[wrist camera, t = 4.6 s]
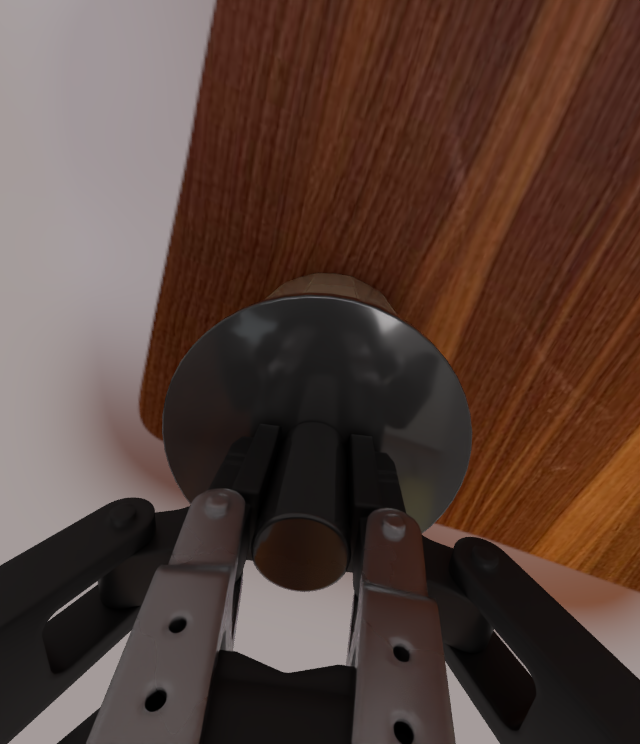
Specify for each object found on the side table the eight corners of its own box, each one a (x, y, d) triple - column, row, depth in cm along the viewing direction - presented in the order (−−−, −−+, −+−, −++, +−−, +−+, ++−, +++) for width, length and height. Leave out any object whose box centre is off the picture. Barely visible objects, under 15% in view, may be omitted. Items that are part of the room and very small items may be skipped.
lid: (180, 527, 16) (100, 674, 11) (169, 272, 12) (34, 301, 7) (428, 557, 16) (473, 722, 10) (496, 308, 12) (621, 367, 7)
